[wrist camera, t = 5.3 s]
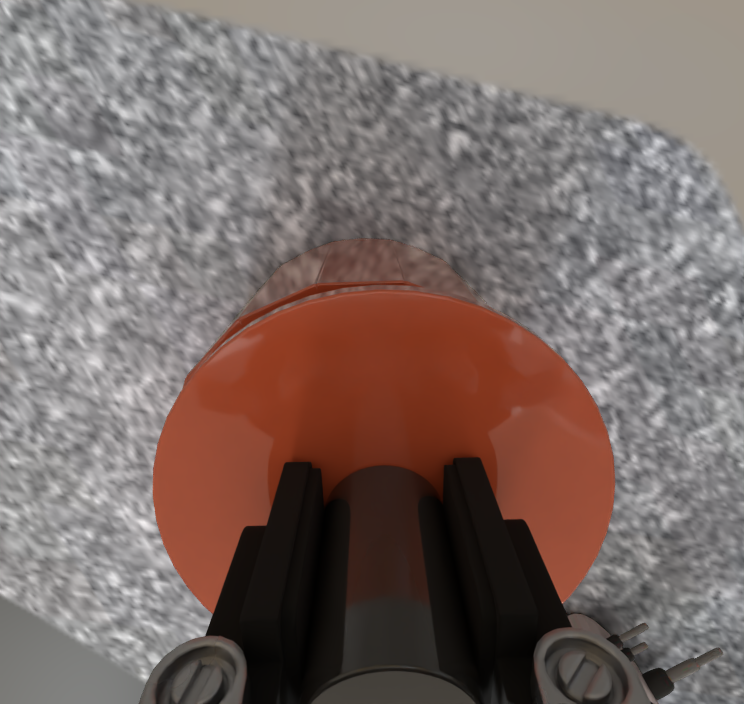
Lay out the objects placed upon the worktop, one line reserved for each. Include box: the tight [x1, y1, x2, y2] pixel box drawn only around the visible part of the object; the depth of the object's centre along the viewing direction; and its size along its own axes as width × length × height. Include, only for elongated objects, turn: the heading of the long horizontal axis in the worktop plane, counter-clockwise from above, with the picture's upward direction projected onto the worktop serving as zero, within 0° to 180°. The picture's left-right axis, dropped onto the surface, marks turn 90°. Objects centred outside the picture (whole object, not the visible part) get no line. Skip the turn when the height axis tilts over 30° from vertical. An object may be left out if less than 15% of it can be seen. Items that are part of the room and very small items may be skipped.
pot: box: [183, 238, 490, 388], centre depth 15 cm, size 9×9×6 cm
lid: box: [153, 285, 615, 704], centre depth 9 cm, size 10×10×6 cm
